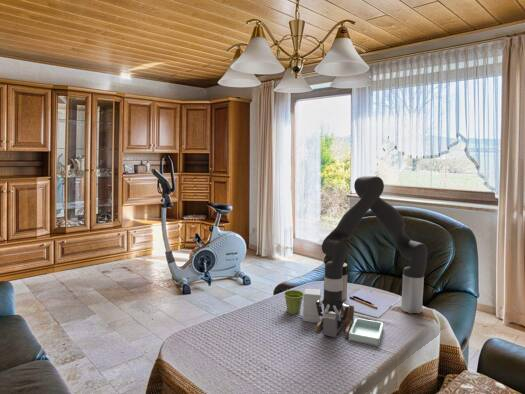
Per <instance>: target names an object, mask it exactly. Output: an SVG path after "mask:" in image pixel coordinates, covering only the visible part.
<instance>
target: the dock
mask: <svg viewBox="0 0 525 394" xmlns="http://www.w3.org/2000/svg"><path fill="white" fill-rule="evenodd" d="M344 304H345V305H350V307H349V311H348V314H347V317H346V319H345V320H342V325H345V326H346V329H345V332H344V333H345V334H344V339H346V340H349V332H350V330H351V327H352V325H353V323H354V321H355V319H354V318H355V317H354V315H355V305H352V304H346V303H344ZM325 309H326V308H325V306H324V305H323V312H324V311H325ZM340 311H341V315H342V316H343V315H344V312H345V310H344V309H343V307H342V308H341V309H340ZM315 326H316V328H315V332H316V334H319V333H320V331H321V330H322V329H323V317H322V316H321V318H320V319H319V322H317V324H316V325H315Z"/></svg>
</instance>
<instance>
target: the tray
mask: <svg viewBox="0 0 525 394" xmlns="http://www.w3.org/2000/svg"><path fill="white" fill-rule="evenodd" d="M354 318H355V319H354V321H353V325H352V327H351V330H350V332H349V337H348V342H354V343H358V344H359V343H360V344H364V345H369V346H375V347H379V346H380V343H381V340H382V335H383V332H384V322H383V321H377V320H369V319H366V318H359V317H354Z"/></svg>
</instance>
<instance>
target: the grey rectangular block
mask: <svg viewBox="0 0 525 394" xmlns="http://www.w3.org/2000/svg"><path fill="white" fill-rule="evenodd" d="M339 330H340V329H338V316H336V313H334V312H329V311H328V312H327V314H326V315H325V316H324V318H323V327H322V335H323V336H328V337H334V338H336V336H337V334H338V332H339Z"/></svg>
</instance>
